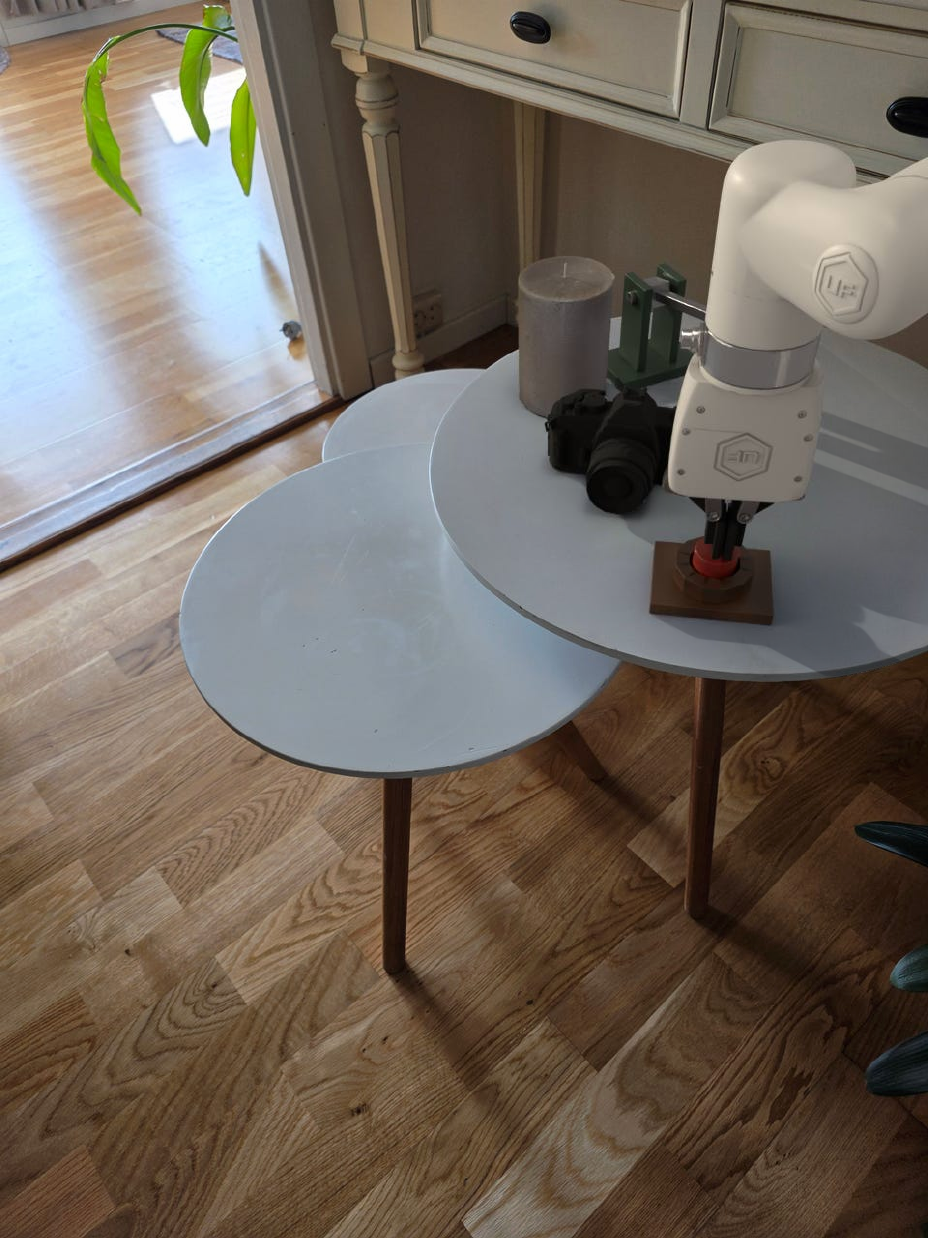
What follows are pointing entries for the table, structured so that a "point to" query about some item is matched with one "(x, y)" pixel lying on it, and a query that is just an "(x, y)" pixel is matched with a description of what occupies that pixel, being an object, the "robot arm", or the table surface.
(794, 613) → the table surface
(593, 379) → the pillar candle
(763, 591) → the button block
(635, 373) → the bracket
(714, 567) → the button
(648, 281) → the lever
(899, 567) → the table surface
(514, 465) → the table surface
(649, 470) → the film camera
